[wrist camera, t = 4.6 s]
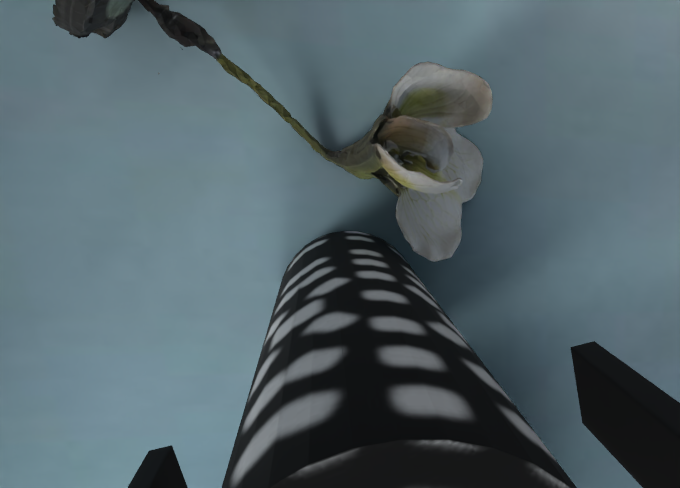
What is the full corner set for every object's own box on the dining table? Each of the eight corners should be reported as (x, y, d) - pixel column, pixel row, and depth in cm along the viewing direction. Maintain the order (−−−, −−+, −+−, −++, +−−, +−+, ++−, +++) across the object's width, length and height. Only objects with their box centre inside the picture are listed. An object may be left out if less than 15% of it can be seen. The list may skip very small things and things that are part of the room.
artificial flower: (168, -84, 25) (151, -274, 15) (464, 171, 31) (584, 150, 21) (63, 43, 24) (-27, -77, 14) (392, 282, 30) (485, 312, 20)
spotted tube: (425, 239, 28) (679, 460, 8) (404, 367, 29) (572, 806, 10) (287, 223, 27) (200, 417, 8) (273, 353, 29) (173, 791, 9)
